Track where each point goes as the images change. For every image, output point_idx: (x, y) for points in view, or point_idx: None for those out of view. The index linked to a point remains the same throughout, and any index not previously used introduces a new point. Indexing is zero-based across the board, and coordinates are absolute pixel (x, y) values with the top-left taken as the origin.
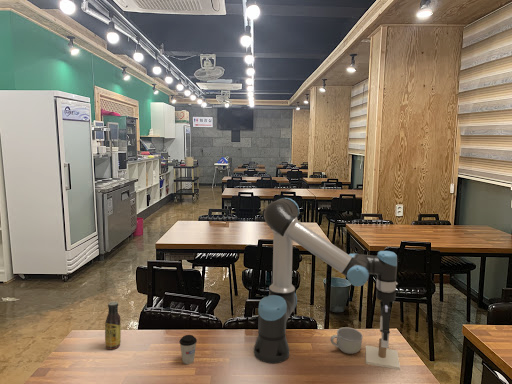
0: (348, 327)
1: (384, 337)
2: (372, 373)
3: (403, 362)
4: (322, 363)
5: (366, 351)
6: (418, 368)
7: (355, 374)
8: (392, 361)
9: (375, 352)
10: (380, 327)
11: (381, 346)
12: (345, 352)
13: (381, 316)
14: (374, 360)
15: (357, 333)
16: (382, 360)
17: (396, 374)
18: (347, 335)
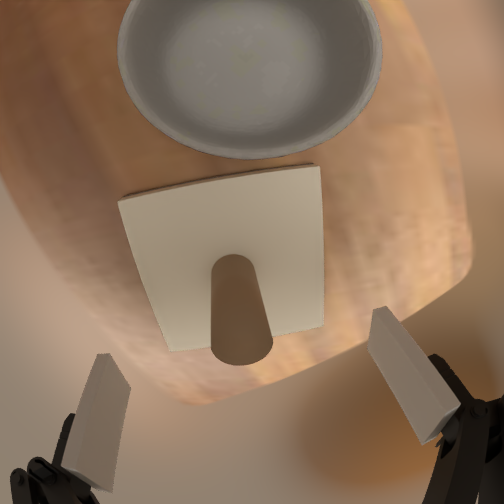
0: (376, 20)
1: (63, 439)
2: (76, 243)
3: None
4: (50, 12)
5: (241, 180)
6: (232, 384)
7: (29, 174)
8: (203, 323)
9: (254, 235)
10: (388, 332)
11: (97, 358)
12: (172, 57)
13: (447, 415)
14: (157, 244)
15: (343, 102)
16: (184, 282)
17: (136, 331)
18: (335, 34)
